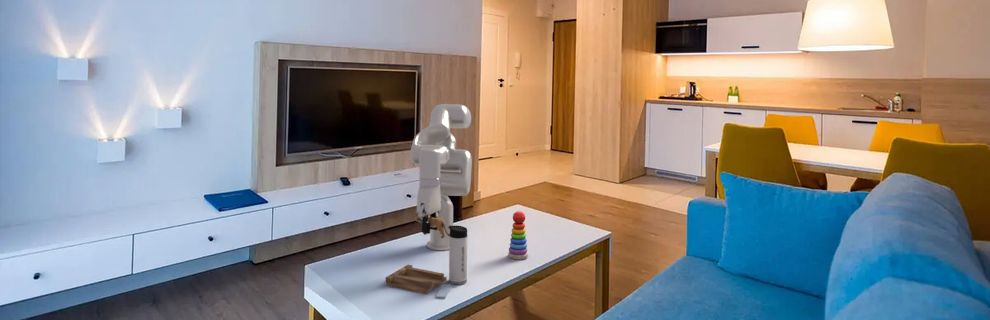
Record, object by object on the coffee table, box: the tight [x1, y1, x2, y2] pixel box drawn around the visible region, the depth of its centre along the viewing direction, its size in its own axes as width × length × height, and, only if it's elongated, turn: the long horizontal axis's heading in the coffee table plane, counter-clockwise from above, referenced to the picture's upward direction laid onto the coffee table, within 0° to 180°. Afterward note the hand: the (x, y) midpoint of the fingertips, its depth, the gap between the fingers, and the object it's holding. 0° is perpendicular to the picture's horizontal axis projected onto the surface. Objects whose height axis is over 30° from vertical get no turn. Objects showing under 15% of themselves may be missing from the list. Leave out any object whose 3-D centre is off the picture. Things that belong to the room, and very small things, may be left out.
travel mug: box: [448, 225, 468, 286], centre depth 186 cm, size 6×7×20 cm
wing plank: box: [435, 283, 453, 300], centre depth 178 cm, size 10×3×1 cm, turn 173°
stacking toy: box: [507, 210, 529, 260], centre depth 213 cm, size 8×8×19 cm
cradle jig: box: [385, 264, 447, 295], centre depth 186 cm, size 14×16×3 cm
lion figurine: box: [413, 210, 450, 238], centre depth 193 cm, size 15×5×9 cm, turn 67°
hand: (429, 230), depth 195 cm, fingers closed on lion figurine, 4 cm apart
